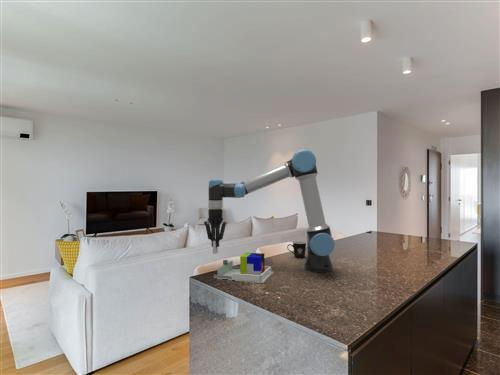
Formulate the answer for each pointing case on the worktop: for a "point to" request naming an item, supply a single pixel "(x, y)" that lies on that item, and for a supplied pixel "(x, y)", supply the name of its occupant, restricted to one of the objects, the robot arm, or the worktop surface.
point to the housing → (246, 275)
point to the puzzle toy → (252, 263)
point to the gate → (225, 267)
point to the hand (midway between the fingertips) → (215, 253)
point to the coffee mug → (298, 249)
